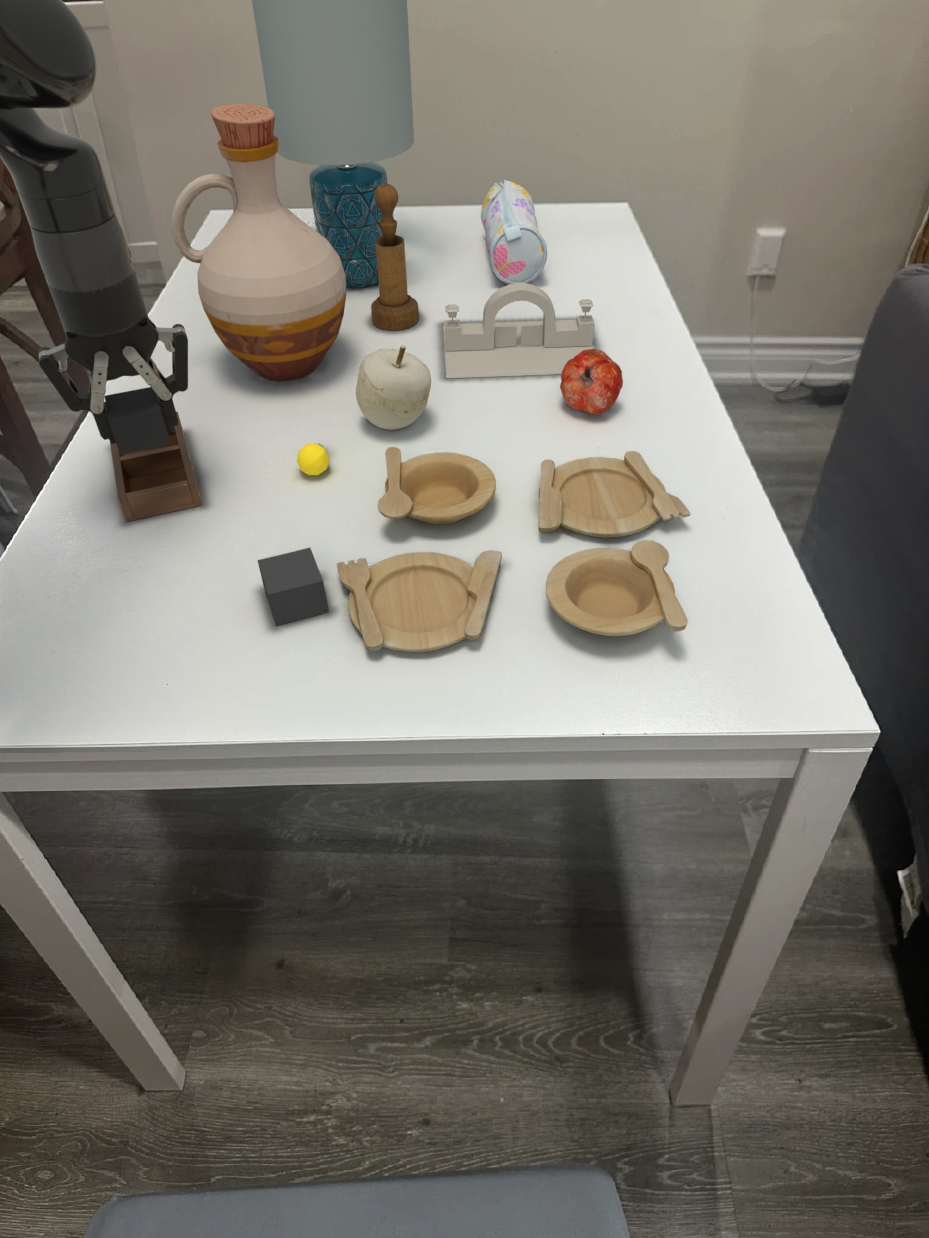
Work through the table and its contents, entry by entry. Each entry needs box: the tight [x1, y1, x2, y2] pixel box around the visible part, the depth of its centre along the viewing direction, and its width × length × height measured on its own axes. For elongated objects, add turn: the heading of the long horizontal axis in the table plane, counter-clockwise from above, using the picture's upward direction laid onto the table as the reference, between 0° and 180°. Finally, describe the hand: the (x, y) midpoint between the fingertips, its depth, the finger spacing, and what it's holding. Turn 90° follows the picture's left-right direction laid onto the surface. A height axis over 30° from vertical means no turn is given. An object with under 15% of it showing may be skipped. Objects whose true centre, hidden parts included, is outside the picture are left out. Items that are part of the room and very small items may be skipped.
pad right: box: [257, 547, 329, 627], centre depth 80 cm, size 5×5×4 cm
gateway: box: [442, 283, 595, 352], centre depth 114 cm, size 20×2×8 cm, turn 93°
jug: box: [171, 103, 347, 382], centre depth 103 cm, size 20×18×30 cm
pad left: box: [104, 386, 170, 454], centre depth 88 cm, size 5×5×4 cm
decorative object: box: [355, 344, 432, 431], centre depth 100 cm, size 9×9×10 cm
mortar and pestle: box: [370, 183, 420, 331], centre depth 117 cm, size 7×6×18 cm
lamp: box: [251, 0, 415, 288], centre depth 120 cm, size 19×19×38 cm
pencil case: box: [480, 179, 548, 285], centre depth 133 cm, size 21×9×10 cm, turn 3°
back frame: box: [109, 411, 203, 523], centre depth 96 cm, size 8×15×3 cm, turn 21°
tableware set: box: [336, 446, 692, 653], centre depth 85 cm, size 35×29×4 cm
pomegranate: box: [559, 348, 624, 415], centre depth 103 cm, size 7×7×10 cm
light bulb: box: [296, 442, 330, 476], centre depth 97 cm, size 3×6×4 cm, turn 1°
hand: (142, 433), depth 89 cm, fingers closed on pad left, 5 cm apart
